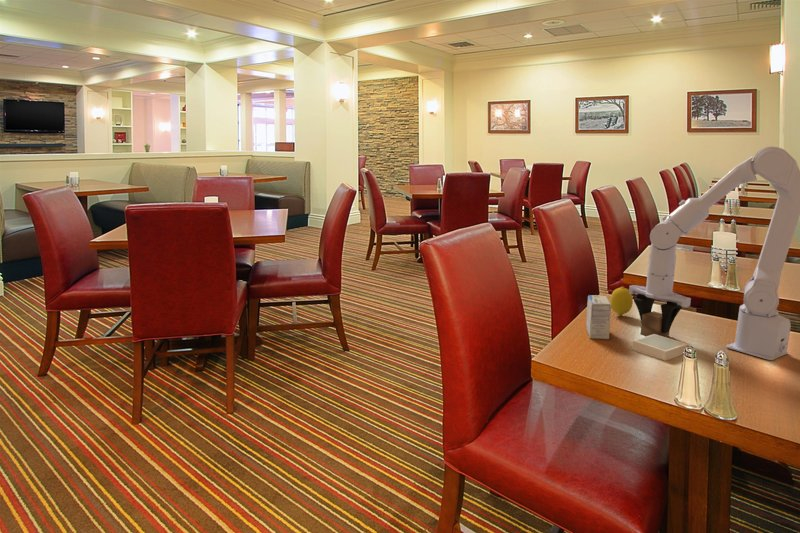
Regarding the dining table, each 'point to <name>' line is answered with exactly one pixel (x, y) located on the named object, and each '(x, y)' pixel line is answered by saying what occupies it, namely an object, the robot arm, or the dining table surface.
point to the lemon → (621, 301)
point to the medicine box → (598, 317)
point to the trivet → (659, 346)
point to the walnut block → (652, 324)
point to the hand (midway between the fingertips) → (655, 329)
